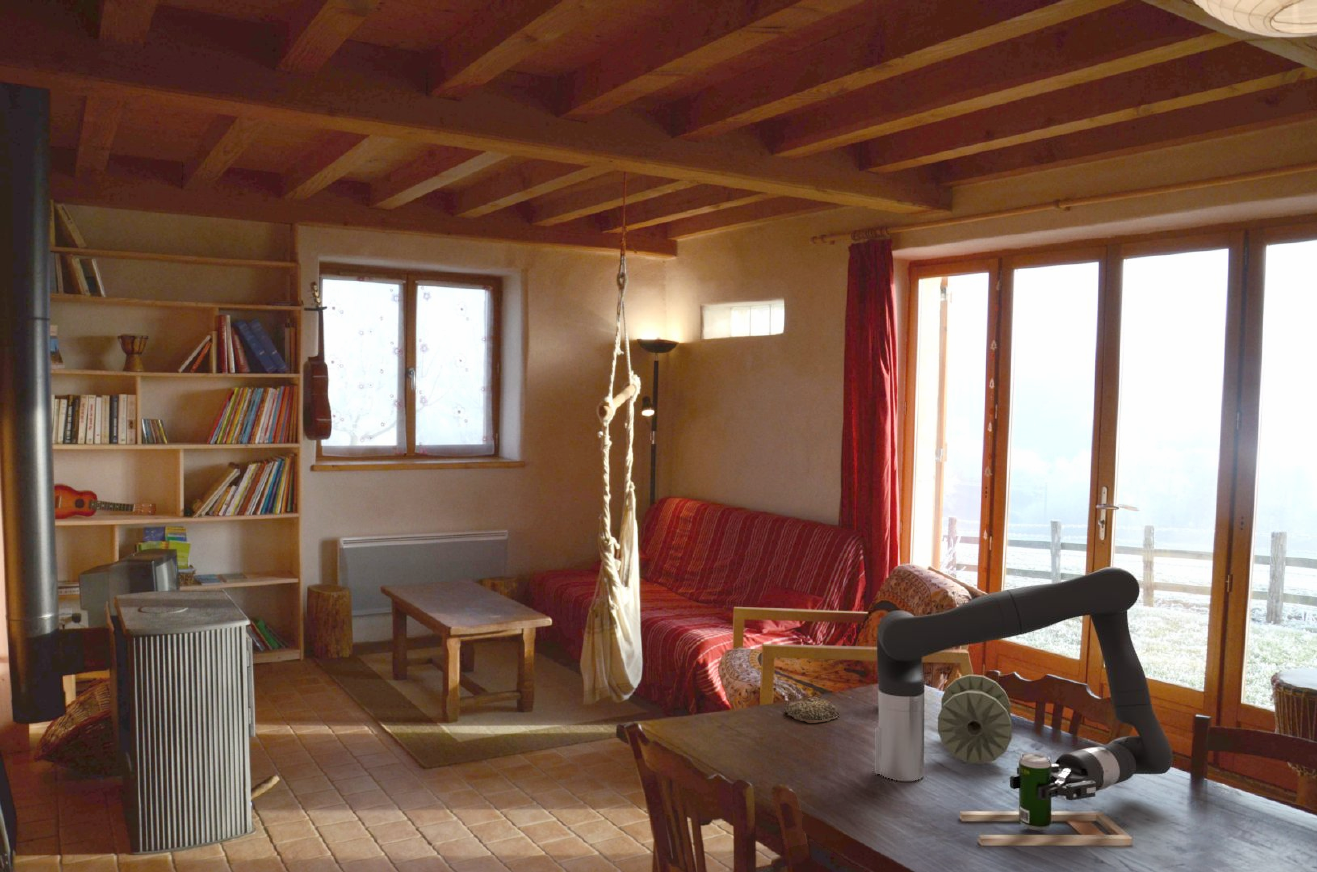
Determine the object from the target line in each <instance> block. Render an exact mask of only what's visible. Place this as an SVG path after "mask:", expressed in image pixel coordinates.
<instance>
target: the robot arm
mask: <svg viewBox="0 0 1317 872" xmlns="http://www.w3.org/2000/svg"><path fill="white" fill-rule="evenodd" d="M1140 592H1141V591H1140V584H1139V581H1138V580H1137V578H1136V577H1135V576H1134V575H1133V574H1132V573H1131V572H1129V571H1128V570H1125V569H1123V568H1120V567H1117V566H1107V567H1106V566H1105V567H1103V568H1100V569H1098V570H1096V571H1093V572H1090V573H1087V574H1084V575H1081V576H1078V577H1077V576H1076V577H1075V578H1071V579H1067V580H1064V581H1058V582H1053V583H1043V584H1037V585H1036V584H1035V585H1029V586H1028V585H1027V586H1022V587H1015V588H1009V589H1005V590H1000V591H996V592H991V593H988V594H983V595H981V596H979V597H976V598H973V599H970V600H969V601H967V602H964V603H962V604H959V606H957V607H954V608H951V609H949V610H946V611H942V612H938V613H931V614H926V615H925V614H924V615H916V616H915V615H914V614H912V613H911V612H908V611H905V610H900V609H899V610H893V611H890V612H888V613H886V614H885V615H884V616H883V617H882V618H881V620H879V623H878V625H877V631H876V632H877V633H876V666H877V669H876V670H877V681H878V685H877V687H878V693H877V694H878V696H877V697H878V698H877V702H878V707H877V708H878V712H877V713H878V714H877V715H878V723H877V724H878V725H877V726H876V727H875V729H874V774H875V773H876V774H875V775H877V774H880V775H879V776H881V775H882V776H881V777H883V776H885V777H887V778H886V779H888V778H890V779H889V780H891V779H893V781H896V780H897V782H916V781H919V780H922V779H923V778H924V777H923V776H925V682H926V681H925V677H924V670H923V669H924V667H923V657H924V658H925V657H926V656H930V655H933V654H935V653H936V654H937V653H939V652H943V651H945V650H946V651H947V650H949V649H952V648H956V647H961V646H968V645H974V644H982V643H985V642H987V643H988V642H992V641H997V640H1003V639H1008V638H1012V637H1017V636H1021V635H1025V634H1030V633H1033V632H1036V631H1039V630H1042V629H1045V628H1048V627H1050V626H1053V625H1056V624H1059V623H1060V622H1063V621H1068V620H1070V619H1074V618H1078V617H1085V616H1089V617H1090V619H1091V622H1092V625H1093V628H1094V630H1095V633H1096V637H1097V640H1098V643H1099V647H1100V651H1101V655H1102V659H1103V664H1104V669H1105V674H1106V679H1107V683H1108V689H1109V693H1110V699H1111V704H1112V708H1113V709H1112V710H1113V712H1114V717H1115V719H1116V720H1117V721H1118V722H1120V723H1122V724H1127V725H1130V726H1132V727H1133V728H1134V730H1135V731H1136V733H1137V735H1133V736H1123V737H1118V738H1115V739H1113V740H1111V741H1110V742H1108V743H1106V744H1103V745H1099V746H1095V747H1093V746H1091V747H1085V748H1082V749H1078V750H1074V751H1070V752H1066V753H1064V754H1060V755H1059V757H1058V758H1057V759H1056V761H1054V763H1051V783H1049V784H1046V785H1042V786H1039V787H1038V798H1039V799H1041V800H1045V799H1048V798H1051V799H1052V798H1058V799H1060V798H1063V797H1065V799H1066V800H1067V801H1077V800H1082V799H1083V800H1084V799H1089V798H1094V797H1096V792H1100V791H1102V790H1105V789H1108V788H1109V787H1111V786H1114V785H1116V784H1119V783H1123V782H1126V781H1129V780H1130V779H1131V778H1132V777H1133V776H1134V775H1162V774H1166V773H1167V772H1168V771H1170V769H1171V767H1172V764H1173V761H1174V760H1173V759H1174V757H1173V755H1174V754H1173V750H1172V747H1171V744H1170V742H1169V740H1168V737H1167V736H1166V733H1165V732H1164V730H1163V728H1162V726H1161V724H1160V722H1159V720H1158V718H1157V715H1156V714H1155V711H1154V708H1153V705H1152V698H1151V693H1150V690H1149V689H1150V688H1149V686H1148V685H1149V684H1148V680H1147V677H1146V674H1145V671H1144V669H1143V666H1142V663H1141V661H1140V658H1139V656H1138V654H1137V652H1136V650H1135V646H1134V644H1133V640H1132V637H1131V632H1130V628H1129V620H1128V619H1129V618H1128V611H1129V610H1130V609H1131V608H1133V606H1134V605H1135V603H1136V602H1137V600H1138V599H1139V596H1140ZM885 777H884V778H885ZM922 777H923V778H922ZM921 778H922V779H921ZM918 779H919V780H918ZM915 780H916V781H915ZM1009 786H1010V787H1009V788H1010V789H1013V790H1017V789H1019V765H1017V766H1016V774H1013V775H1011V776H1009Z"/></svg>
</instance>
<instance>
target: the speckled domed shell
mask: <svg viewBox="0 0 1317 872" xmlns="http://www.w3.org/2000/svg"><path fill="white" fill-rule="evenodd" d="M785 710H786V712H788V713H789V714H793V715H795V716H797V717H800V718H803V719H806V720H823V719H829V718H833V717H836V716H838V715H839V714H840V715H841V713H840V711H839V709H838V708H837V707H836V706H835V705H834V704H832V703H830V701H828V700H827V699H824V698H818V697H817V696H812V697H809V698H805V699H803V700H797V701H795V702H789V704H787V706H786V707H785V708H784V711H785Z"/></svg>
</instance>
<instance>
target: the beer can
mask: <svg viewBox="0 0 1317 872" xmlns="http://www.w3.org/2000/svg"><path fill="white" fill-rule="evenodd" d="M1051 764H1052V763H1051V758H1050V756H1048V755H1045V754H1042V753H1038V752H1037V753H1036V752H1024V753H1021V754H1020V758H1019V760H1018V766H1019V788H1018V811H1019V820H1020V821H1019V822H1020V825H1021V826H1023V827H1024V828H1026V829H1029V830H1033V831H1046V830H1049V829H1050V826H1051V825H1052V821H1051V811H1052V798H1048V799H1045V800H1041V799H1039V798H1038V787H1039V786H1042V785H1046V784H1049V783H1051Z"/></svg>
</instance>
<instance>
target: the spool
mask: <svg viewBox="0 0 1317 872" xmlns="http://www.w3.org/2000/svg"><path fill="white" fill-rule="evenodd" d="M940 701H941V708H940V711H939V712H938V716H937V733H938V735H939V737H940V740H941V743H942V745H943V747H945V748H946V750H948V752H949V753H950V754H951V755H952V756H953V757H955V758H957V759H958V760H961V761H963V762H965V763H971V764H980V765H981V764H987V763H989V762H993V761H996V760H997V759H998V758H999V757H1001V756H1002V755H1003V754H1004V753H1006V751H1007V749H1008V747H1009V745H1010V743H1011V741H1012V739H1013V738H1012V735H1013V734H1012V733H1013V731H1012V729H1013V728H1012V727H1013V725H1012V720H1011V715H1012V714H1011V710H1012V707H1011V705H1012V704H1011V702H1010V699H1009V697H1008V694H1007V691H1005V689H1004V688H1002V686H1001V685H1000V684H999V683H998V682H997V681H995V680H993V679H991V678H989V677H988V676H985V675H983V674H980V675H979V674H967V675H962V676H960V677H957V678H955V679H953V681H952V682H951V683H949V684H948V685H947V686H946V688H945V690H944V692H943V694H942V697H941V700H940Z"/></svg>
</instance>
